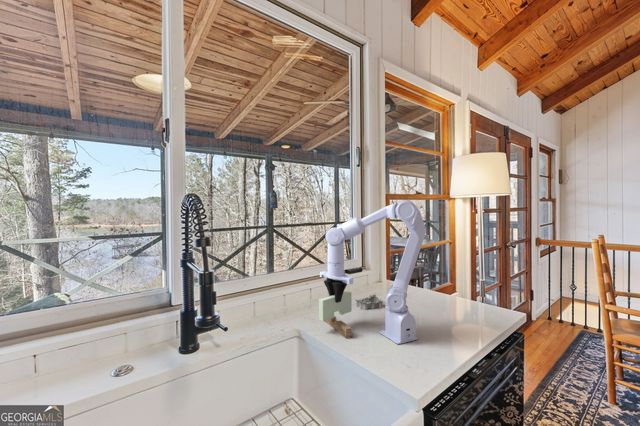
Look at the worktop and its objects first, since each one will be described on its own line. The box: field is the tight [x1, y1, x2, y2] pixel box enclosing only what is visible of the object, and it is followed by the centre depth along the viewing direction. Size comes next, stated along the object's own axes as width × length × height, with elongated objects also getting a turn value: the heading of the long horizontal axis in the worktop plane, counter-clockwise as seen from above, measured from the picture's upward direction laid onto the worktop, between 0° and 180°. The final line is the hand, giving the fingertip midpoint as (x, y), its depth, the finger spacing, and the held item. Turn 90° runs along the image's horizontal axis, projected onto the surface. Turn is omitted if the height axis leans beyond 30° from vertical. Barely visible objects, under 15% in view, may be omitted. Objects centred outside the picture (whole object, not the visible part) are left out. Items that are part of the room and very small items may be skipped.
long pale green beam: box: [318, 290, 353, 323], centre depth 102 cm, size 14×2×7 cm, turn 132°
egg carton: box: [354, 294, 384, 311], centre depth 124 cm, size 11×8×4 cm
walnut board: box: [324, 315, 353, 339], centre depth 102 cm, size 18×2×3 cm, turn 25°
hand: (335, 301), depth 102 cm, fingers closed on long pale green beam, 2 cm apart
